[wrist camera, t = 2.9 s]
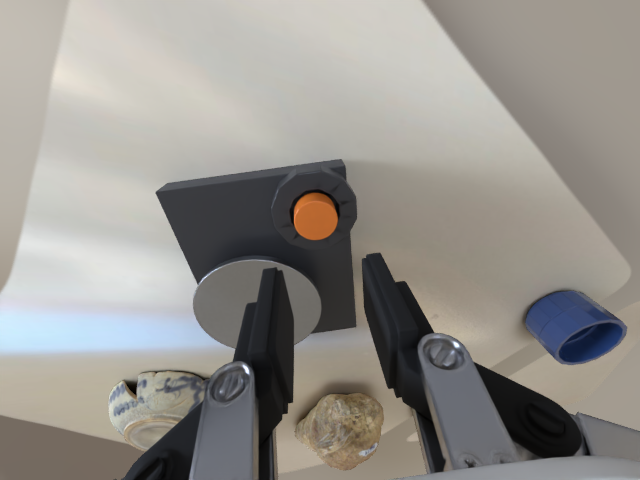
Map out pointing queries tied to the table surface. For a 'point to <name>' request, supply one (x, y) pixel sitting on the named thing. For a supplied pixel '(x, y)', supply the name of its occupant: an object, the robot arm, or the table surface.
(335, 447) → the seashell
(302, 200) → the button
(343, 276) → the scale
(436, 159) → the table surface
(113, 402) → the decorative bowl
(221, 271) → the silver metal disc
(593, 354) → the small bowl
